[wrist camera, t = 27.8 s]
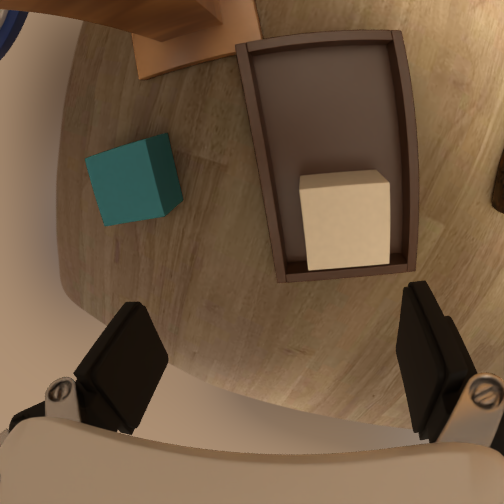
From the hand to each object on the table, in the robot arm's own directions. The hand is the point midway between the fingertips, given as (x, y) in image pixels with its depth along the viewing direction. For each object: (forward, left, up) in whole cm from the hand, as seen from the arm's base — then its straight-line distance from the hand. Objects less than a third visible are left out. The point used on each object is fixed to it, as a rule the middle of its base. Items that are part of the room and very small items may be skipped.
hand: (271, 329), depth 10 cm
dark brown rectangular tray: (+4, +3, -16) cm, 16 cm away
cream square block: (+4, -1, -15) cm, 16 cm away
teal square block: (-12, +4, -16) cm, 20 cm away
